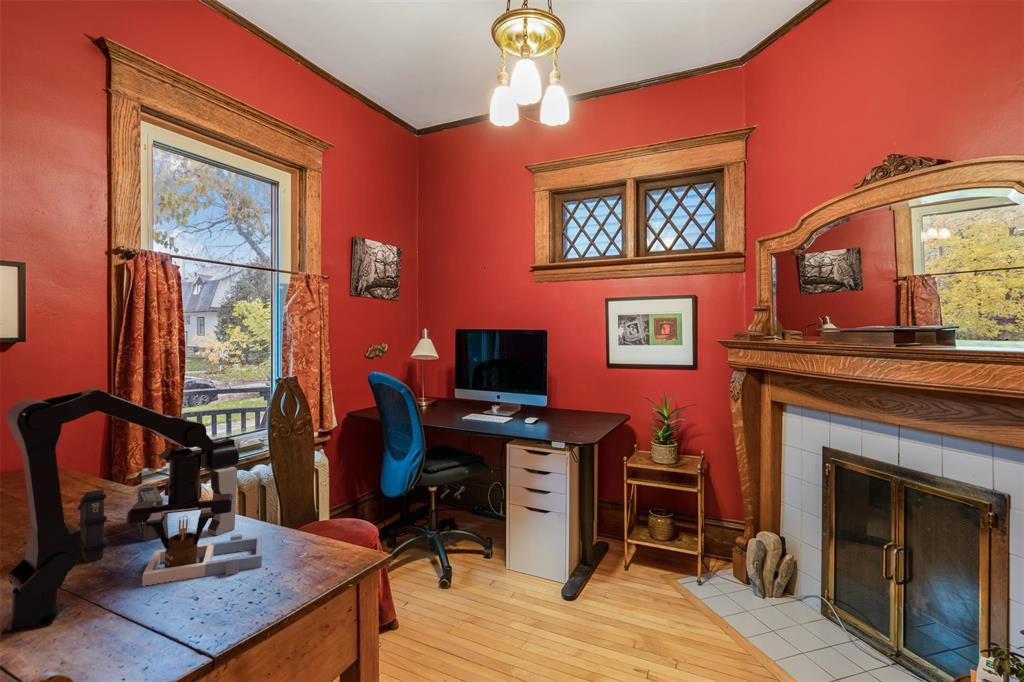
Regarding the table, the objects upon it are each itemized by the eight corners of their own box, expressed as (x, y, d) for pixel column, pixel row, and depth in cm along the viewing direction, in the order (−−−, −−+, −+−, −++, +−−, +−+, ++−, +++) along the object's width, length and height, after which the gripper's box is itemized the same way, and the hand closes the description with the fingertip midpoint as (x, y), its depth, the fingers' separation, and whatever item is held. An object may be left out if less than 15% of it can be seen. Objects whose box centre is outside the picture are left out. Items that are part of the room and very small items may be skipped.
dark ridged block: (85, 561, 100) (84, 492, 105) (77, 567, 108) (76, 503, 113) (108, 556, 103) (105, 488, 108) (98, 562, 111) (97, 499, 115)
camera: (135, 521, 126) (137, 485, 126) (153, 518, 129) (155, 482, 129) (142, 542, 114) (143, 502, 114) (161, 538, 117) (163, 499, 117)
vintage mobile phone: (207, 532, 121) (211, 437, 121) (226, 526, 125) (230, 434, 125) (215, 536, 119) (219, 439, 119) (234, 529, 124) (239, 436, 124)
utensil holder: (196, 559, 107) (198, 507, 107) (197, 571, 102) (199, 517, 102) (164, 565, 103) (166, 512, 103) (164, 578, 98) (166, 522, 98)
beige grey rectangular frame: (261, 569, 104) (261, 555, 104) (140, 589, 94) (141, 574, 94) (262, 543, 116) (262, 531, 116) (156, 559, 106) (156, 545, 106)
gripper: (236, 463, 114) (233, 526, 114) (141, 470, 105) (138, 538, 105) (232, 476, 104) (229, 544, 104) (127, 484, 95) (124, 559, 95)
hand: (181, 545), depth 103 cm, fingers closed on utensil holder, 5 cm apart
